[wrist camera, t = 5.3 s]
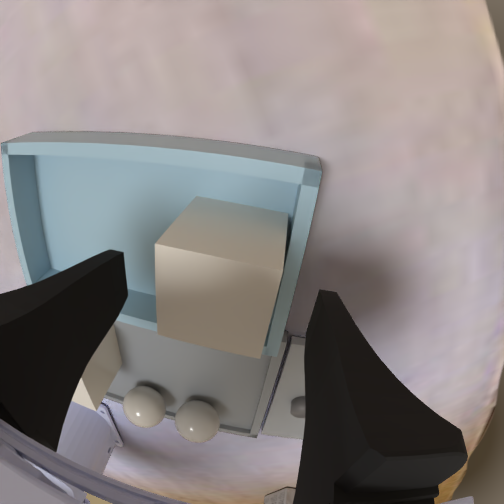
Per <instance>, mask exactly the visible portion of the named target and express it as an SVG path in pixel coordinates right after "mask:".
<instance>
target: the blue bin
mask: <svg viewBox="0 0 504 504" xmlns="http://www.w3.org/2000/svg"><path fill="white" fill-rule="evenodd" d="M1 152H2V164H3V173H4V181H5V189H6V196H7V202H8V208H9V214H10V219H11V224H12V229H13V234H14V238H15V243H16V247H17V251H18V255H19V259H20V263H21V267H22V270H23V274H24V278H25V281H26V284H27V286H28V285H31V284H34V283H36V282H39V281H41V280H44V279H46V278H48V277H50V276H52V275H55V274H57V273H59V272H61V271H63V270H66V269H68V268H70V267H72V266H74V265H76V264H78V263H80V262H82V261H84V260H86V259H88V258H90V257H93V256H95V255H97V254H99V253H102V252H104V251H107V250H109V249H112V250H116V251H121V252H124V260H125V270H126V279H127V288H128V298H127V300H126V302H125V304H124V306H123V308H122V310H121V312H120V314H119V316H118V318H117V319H116V320H117V321H120V322H123V323H127V324H131V325H134V326H138V327H141V328H145V329H149V330H153V331H156V332H157V315H156V288H155V243H156V242H157V241H158V239H159V238H160V237H161V236H162V235H163V233H164V232H165V231H166V230H167V229H168V228H169V226H170V225H171V224H172V223H173V222H174V221H175V220H176V218H177V217H178V216H179V215H180V214H181V213H182V212H183V210H184V209H185V208H186V207H187V206H188V205H189V204H190V202H191V201H192V200H193V199H194V198H195V197H196V196H200V197H206V198H211V199H217V200H222V201H228V202H233V203H238V204H243V205H249V206H254V207H259V208H264V209H269V210H274V211H279V212H284V213H288V224H287V235H286V246H285V257H284V267H283V273H282V277H281V281H280V285H279V289H278V293H277V297H276V301H275V305H274V309H273V312H272V316H271V320H270V324H269V328H268V332H267V335H266V339H265V343H264V347H263V350H262V355H268V356H274V357H277V355H278V352H279V348H280V344H281V341H282V337H283V334H284V330H285V326H286V322H287V319H288V315H289V311H290V307H291V304H292V300H293V296H294V292H295V288H296V284H297V280H298V276H299V272H300V268H301V264H302V260H303V256H304V251H305V247H306V243H307V239H308V234H309V230H310V226H311V221H312V217H313V212H314V208H315V203H316V199H317V194H318V190H319V185H320V180H321V175H322V169H321V165H320V162H319V159H318V157H317V156H312V155H307V154H302V153H296V152H291V151H285V150H279V149H273V148H267V147H261V146H254V145H248V144H241V143H233V142H226V141H218V140H209V139H200V138H190V137H180V136H168V135H155V134H140V133H120V132H32V133H29V134H26V135H23V136H20V137H17V138H14V139H11V140H8V141H5V142H3V143H1Z"/></svg>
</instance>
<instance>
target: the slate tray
mask: <svg viewBox="0 0 504 504" xmlns="http://www.w3.org/2000/svg"><path fill="white" fill-rule="evenodd" d="M114 328H115V333H116V337H117V342H118V346H119V351H120V355H121V359H122V365H121V367H120V369H119V370H118V372H117V374H116V376H115V378H114V380H113V381H112V383H111V385H110V387H109V389H108V391H107V393H106V394H105V396H104V398H106V399H109V400H112V401H115V402H117V403H120V404H123V400H124V397H125V395H126V394H127V393H128V391H130V390H131V389H132V388H134V387H138V386H148V387H151V388H153V389H155V390H156V391H158V392H159V393H160V394H161V396H162V397H163V399H164V401H165V404H166V413H165V416H164V418H168V419H171V420H175V415H176V412H177V410H178V409H179V408H180V407H181V406H182V405H183V404H184V403H186V402H189V401H193V400H200V401H204V402H207V403H209V404H210V405H212V406H213V407H214V408H215V410H216V411H217V413H218V415H219V418H220V427H219V430H218V431H221V432H226V433H231V434H236V435H241V436H247V437H253V438H257V435H258V432H259V430H260V427H261V424H262V421H263V418H264V415H265V412H266V409H267V406H268V402H269V399H270V396H271V393H272V390H273V387H274V384H275V380H276V377H277V374H278V371H279V368H280V364H281V361H282V358H283V354H284V351H285V348H286V344H287V335H288V331H284V334H283V337H282V341H281V344H280V348H279V352H278V355H277V357H274V356H268V355H262V354H261V358H260V359H258V358H253V357H248V356H243V355H239V354H234V353H229V352H225V351H220V350H216V349H212V348H208V347H203V346H199V345H195V344H191V343H187V342H183V341H179V340H176V339H172V338H168V337H164V336H161V335H158V333H157V332H156V331H153V330H149V329H145V328H141V327H138V326H134V325H131V324H127V323H123V322H120V321H117V320H116V321H115V322H114ZM305 339H306V338H301V337H294V336H292V338H291V341H290V344H289V348H288V351H287V354H286V357H285V361H284V364H283V367H282V370H281V373H280V376H279V380H278V383H277V386H276V389H275V392H274V395H273V398H272V401H271V404H270V407H269V410H268V413H267V416H266V418H265V421H264V424H263V427H262V433H261V434H264V435H270V436H278V437H285V438H294V439H303V436H304V426H305V374H304V350H305Z"/></svg>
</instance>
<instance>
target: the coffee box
mask: <svg viewBox="0 0 504 504" xmlns="http://www.w3.org/2000/svg"><path fill="white" fill-rule="evenodd" d="M295 490H296V489H293V488H284V489H282V490H279V491H277V492H274V493H272V494H269V495H266V496H265V499H264V504H293V500H294V495H295Z"/></svg>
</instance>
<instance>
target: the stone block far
mask: <svg viewBox="0 0 504 504" xmlns="http://www.w3.org/2000/svg"><path fill="white" fill-rule="evenodd" d="M121 365H122V359H121V355H120V351H119V346H118V342H117V337H116V333H115V328H114V324H113V325H112V327H111V328H110V330H109V332H108V333H107V335H106V336H105V338H104V339H103V341H102V342H101V344H100V345H99V347H98V348H97V350H96V351H95V353H94V354H93V356H92V357H91V359H90V361H89V363H88V364H87V366H86V368H85V370H84V373H83V375H82V377H81V379H80V381H79V383H78V386H77V388H76V391H75V393H74V396H73V398H72V401H73V402H75V403H78V404H80V405H82V406H85V407H87V408H89V409H92V410H94V411H97V410H98V408H99V406H100V404H101V402H102V400H103V398H104V396H105V394H106V393H107V391H108V389H109V387H110V385H111V383H112V381H113V380H114V378H115V376H116V374H117V372H118V370H119V369H120V367H121Z"/></svg>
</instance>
